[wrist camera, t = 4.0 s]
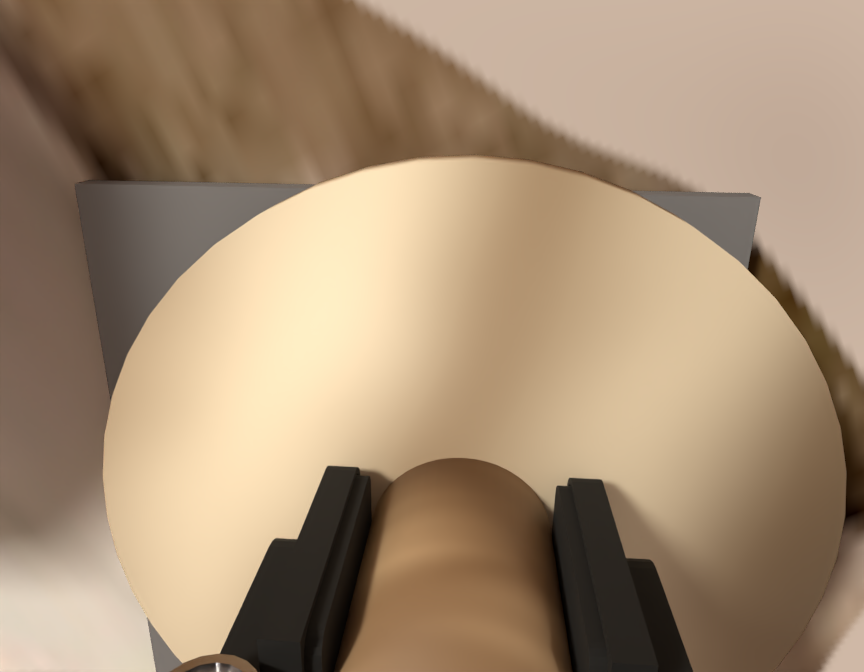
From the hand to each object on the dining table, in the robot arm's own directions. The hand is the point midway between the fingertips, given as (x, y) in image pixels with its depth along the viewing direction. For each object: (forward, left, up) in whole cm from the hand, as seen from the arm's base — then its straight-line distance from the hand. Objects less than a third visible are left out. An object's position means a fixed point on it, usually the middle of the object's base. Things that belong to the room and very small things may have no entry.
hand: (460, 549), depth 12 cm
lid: (0, 0, -1) cm, 1 cm away
